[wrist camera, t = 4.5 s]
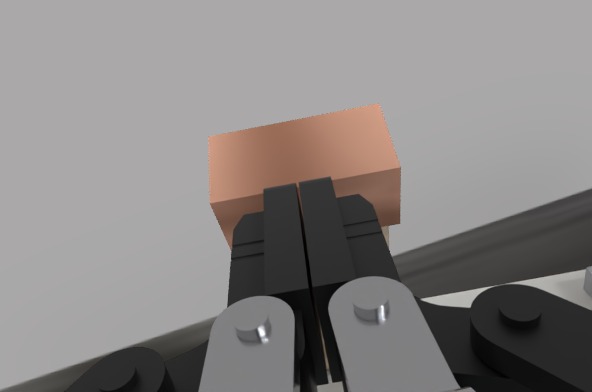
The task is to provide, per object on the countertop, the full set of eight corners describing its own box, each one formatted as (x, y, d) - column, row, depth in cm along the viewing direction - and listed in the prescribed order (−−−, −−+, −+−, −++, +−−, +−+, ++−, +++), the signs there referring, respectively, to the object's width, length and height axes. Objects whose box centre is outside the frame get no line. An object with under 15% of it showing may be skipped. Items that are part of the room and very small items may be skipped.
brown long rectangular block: (386, 326, 30) (379, 103, 17) (398, 374, 28) (400, 167, 15) (289, 343, 30) (208, 136, 17) (295, 392, 28) (209, 203, 15)
